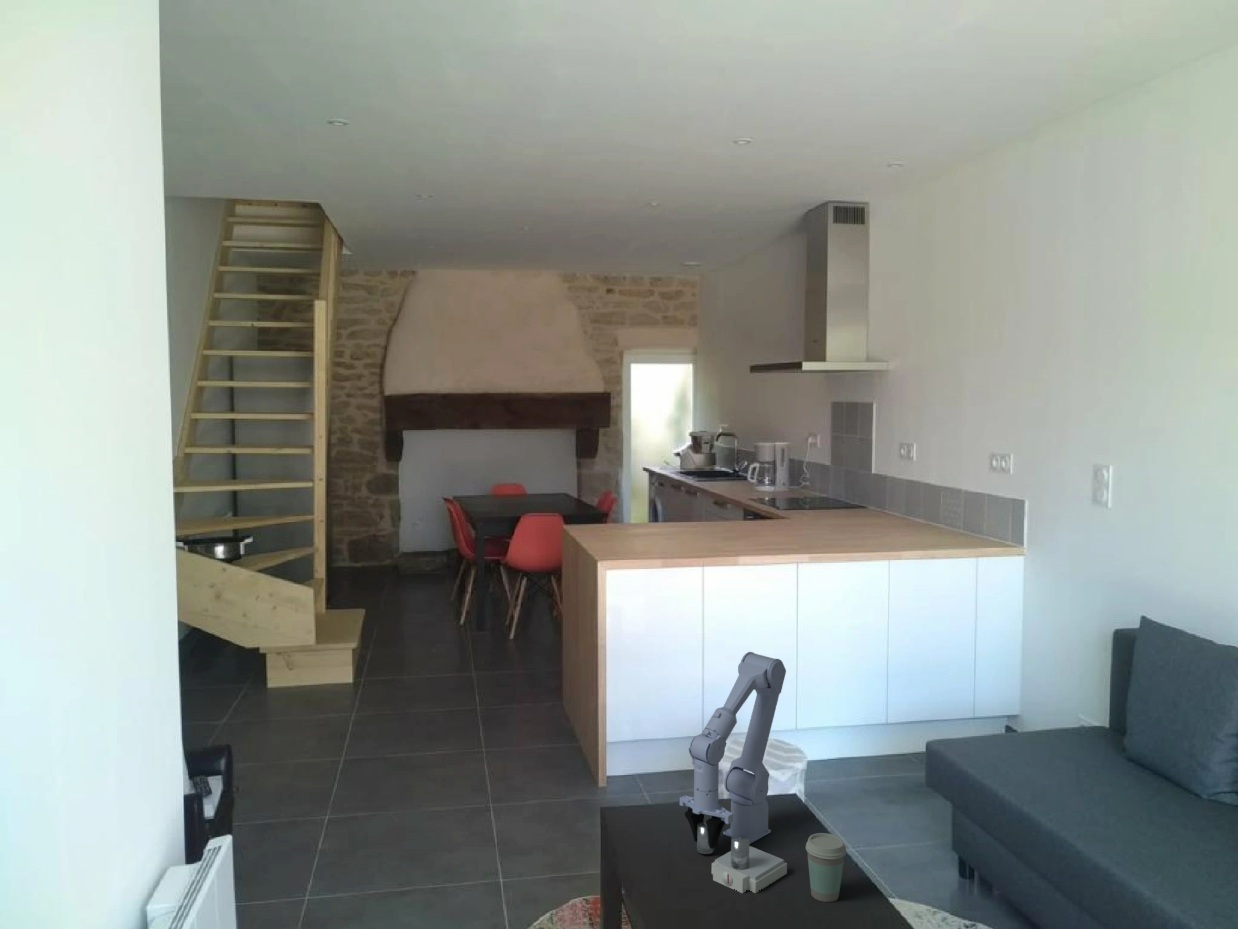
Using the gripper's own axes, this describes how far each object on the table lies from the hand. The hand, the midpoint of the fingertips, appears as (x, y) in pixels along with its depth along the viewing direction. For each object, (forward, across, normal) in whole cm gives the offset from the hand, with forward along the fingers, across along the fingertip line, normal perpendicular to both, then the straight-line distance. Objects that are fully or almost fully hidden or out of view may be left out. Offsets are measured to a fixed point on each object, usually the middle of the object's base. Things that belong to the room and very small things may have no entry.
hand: (705, 843), depth 218 cm
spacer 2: (-1, +13, -4) cm, 14 cm away
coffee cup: (+3, +30, +3) cm, 30 cm away
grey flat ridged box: (+2, +13, -2) cm, 13 cm away
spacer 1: (+2, 0, 0) cm, 2 cm away
